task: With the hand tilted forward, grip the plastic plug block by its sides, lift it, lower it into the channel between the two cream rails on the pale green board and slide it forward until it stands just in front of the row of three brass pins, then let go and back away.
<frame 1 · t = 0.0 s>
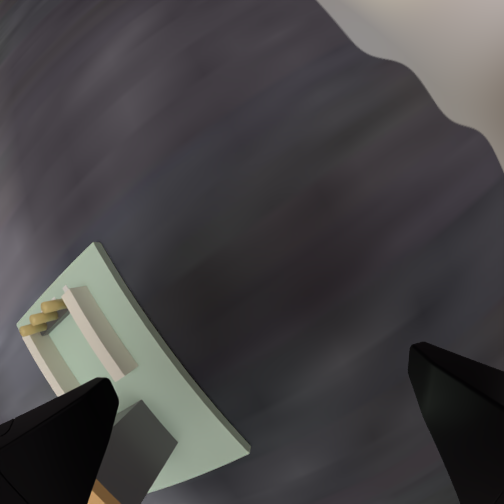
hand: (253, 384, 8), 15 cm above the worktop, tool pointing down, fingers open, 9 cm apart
plug: (143, 430, 23), point 1 cm above the worktop, touching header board
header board: (117, 386, 25), on the worktop
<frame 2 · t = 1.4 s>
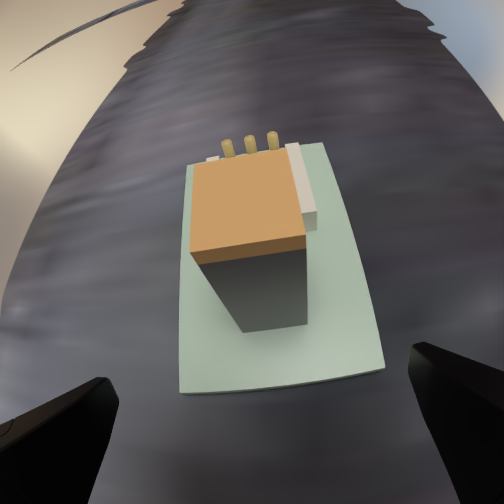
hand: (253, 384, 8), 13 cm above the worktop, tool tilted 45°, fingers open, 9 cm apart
plug: (271, 296, 22), point 1 cm above the worktop, touching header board
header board: (267, 251, 26), on the worktop
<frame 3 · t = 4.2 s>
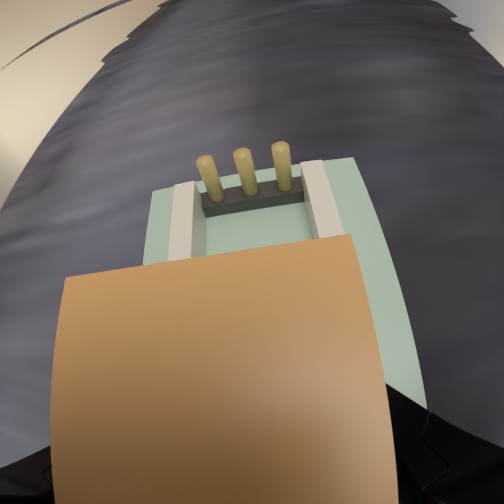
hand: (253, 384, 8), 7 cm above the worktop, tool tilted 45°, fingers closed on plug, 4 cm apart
plug: (276, 428, 12), point 1 cm above the worktop, touching gripper, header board
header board: (270, 342, 16), on the worktop
when the fingers open (8 cm above the worktop, at t = 7.7 s): plug stays where it is, resting on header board.
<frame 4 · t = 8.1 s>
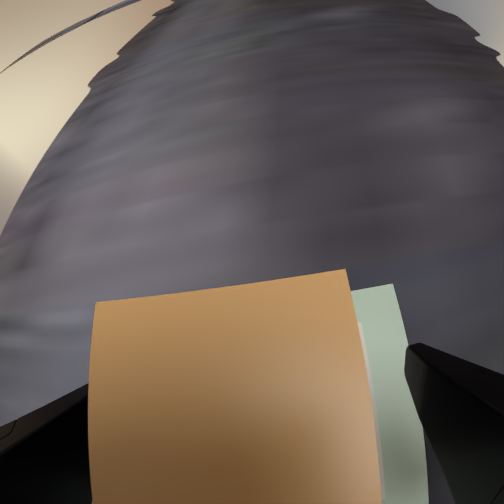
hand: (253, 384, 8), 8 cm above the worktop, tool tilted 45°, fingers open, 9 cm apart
plug: (278, 428, 13), point 1 cm above the worktop, touching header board
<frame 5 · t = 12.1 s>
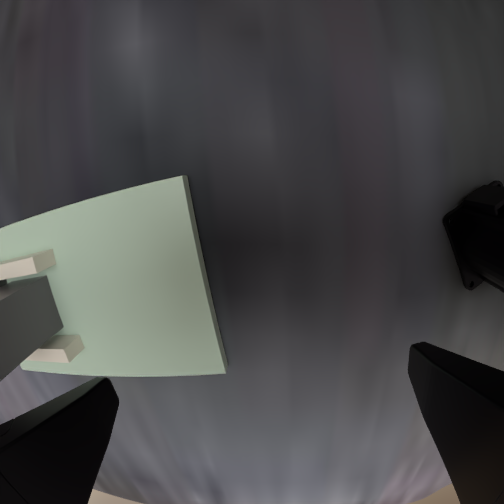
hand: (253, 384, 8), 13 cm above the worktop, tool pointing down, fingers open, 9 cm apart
plug: (35, 303, 22), point 1 cm above the worktop, touching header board
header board: (79, 294, 22), on the worktop
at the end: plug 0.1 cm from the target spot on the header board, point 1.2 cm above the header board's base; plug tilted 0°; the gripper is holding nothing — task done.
